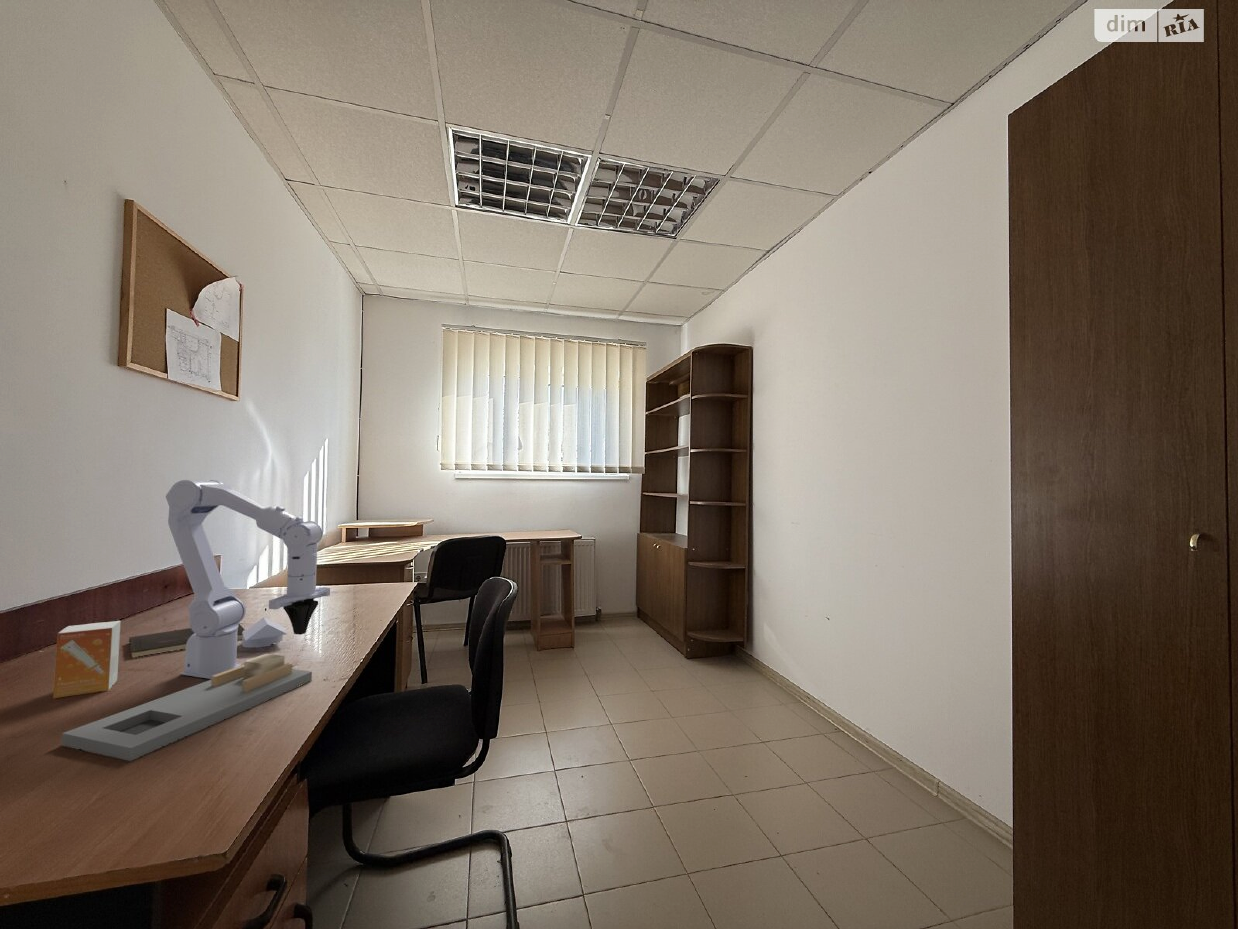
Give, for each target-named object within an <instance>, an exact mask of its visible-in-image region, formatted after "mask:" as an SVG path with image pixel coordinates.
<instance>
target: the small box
mask: <svg viewBox="0 0 1238 929" xmlns="http://www.w3.org/2000/svg"><path fill="white" fill-rule="evenodd" d="M120 633H121V620H115V621H114V620H113V621H107V622H103V621H102V622H94V623H86V624H85V623H83V624H78V625H77V624H76V625H68V626H66V627H65V628H63V629H62V630H60V631H59V632H57V639H56V651H55V662H54V663H55V664H54V665H55V666H54V678H53V679H54V680H53V697H52V698H53V699H58V698H64V697H70V696H77V695H79V696H80V695H85V694H93V693H98V692H99V691H100V692H107V691H109V690H110V689H112V687H113V686H114V684H116V682H117V681H118V674H119V673H118V670H119V652H120V637H121V634H120ZM112 685H113V686H112Z"/></svg>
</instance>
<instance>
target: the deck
mask: <svg viewBox="0 0 1238 929" xmlns="http://www.w3.org/2000/svg"><path fill="white" fill-rule="evenodd" d="M312 673H313V672H312V671H311V670H310V671H309V670H303V669H296V668H295V669H294V668H293V663H284V665H282V666H280V667H277V668H274V669H272V670H269V671H267V672H264V673H261V674H259V675H256V676H254V677H251V678H248V679H247V678H244V665H241V666H239V667H236V668H233V669H230V670H227V671H224V672H222V673H219V674H216V675H213V676H212V678H211V679H208V680H207V681H203V682H201V683H198V684H196V685H193V686H190V687H186V688H184V689H182V690H179V691H176V692H173V693H171V694H168V695H165V696H162V697H159V698H156V699H153V700H151V701H149V702H145V703H143V704H140V705H137V706H135V707H134V706H133V707H131V708H129V709H126V710H123V711H120V712H117V713H115V714H111V715H109V716H107V717H103V718H101V719H98V720H95V721H92V722H89V723H87V724H84V725H82V726H79V727H76V728H73V729H70V730H67V731H65V732H62V733H61V745H62V746H61V747H65V746H68V747H67V748H70V747H71V748H70V749H74V748H75V749H74V750H79V749H82V750H81V751H83V750H84V751H83V752H88V753H93V754H96V753H98V755H101V754H102V756H106V757H110V756H111V757H110V758H114V757H115V759H119V760H123V761H128V762H131V761H134V760H136V759H139V758H141V757H143V756H145V754H146V755H148V754H149V753H150V754H151V753H152V752H155V751H157V750H159V749H161V748H163V747H162V746H164V747H166V746H168V745H170V744H172V743H175V742H177V741H179V740H182V739H184V738H185V736H186V737H188V736H191V735H193V734H195V733H198V732H200V731H202V730H204V729H206V728H208V726H209V727H210V726H213V725H216V724H218V723H220V722H222V721H224V719H225V720H226V719H228V718H231V717H234V716H235V715H238V714H240V713H242V712H244V711H247V710H249V709H251V708H254V707H256V706H258V705H260V703H261V704H263V703H265V702H267V701H269V699H270V700H272V699H274V698H275V697H279V696H280V695H283V694H284V692H285V693H287V692H286V691H288V692H289V690H290V691H292V690H294V689H297V688H298V686H299V685H301V684H303V685H305V683H306V684H308V683H309V682H308V681H310V682H312V681H313V680H312V679H313V678H312V677H313V674H312ZM307 682H308V683H307ZM301 686H302V685H301ZM296 687H297V688H296ZM299 687H300V686H299ZM293 688H294V689H293ZM291 689H292V690H291ZM278 695H279V696H278ZM271 698H272V699H271ZM262 702H263V703H262ZM217 722H218V723H217ZM178 739H179V740H178ZM169 743H170V744H169ZM156 749H157V750H156ZM154 750H155V751H154ZM140 756H141V757H140Z"/></svg>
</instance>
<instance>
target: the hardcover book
mask: <svg viewBox="0 0 1238 929" xmlns="http://www.w3.org/2000/svg"><path fill="white" fill-rule="evenodd" d="M237 630H238V631H237V641H240V640H241V641H242V632H243V631H244V630H246V629H245V628H244V627H243V626H242V625H241V624H240V623H239V627H238V629H237ZM193 634H194V632H193V631H192V629H191V628H190V627H188V628H181V629H176V630H174V629H173V630H169V631H162V632H155V633H148V634H143V635H136V636H134V635H133V636H130V637H128V643H129V642H130V644H129V647H130V653H131V658H132V657H137V656H142V655H147V654H154V653H158V652H164V651H170V650H177V651H181V650H180V649H183V650H186V643H187V641H188V639H189V638H190V637H191V636H192V635H193ZM154 655H155V654H154ZM137 658H138V657H137Z"/></svg>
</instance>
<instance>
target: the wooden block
mask: <svg viewBox="0 0 1238 929" xmlns="http://www.w3.org/2000/svg"><path fill="white" fill-rule="evenodd" d="M282 665H285V655H281V654H271V653H264V654H261V655H258V656H256V657H253V658H250V659H247V660H244V678H247V679H248V678H251V677H254V676H256V675H259V674H261V673H264V672H267V671H269V670H272V669H274V668H277V667H280V666H282Z"/></svg>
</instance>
